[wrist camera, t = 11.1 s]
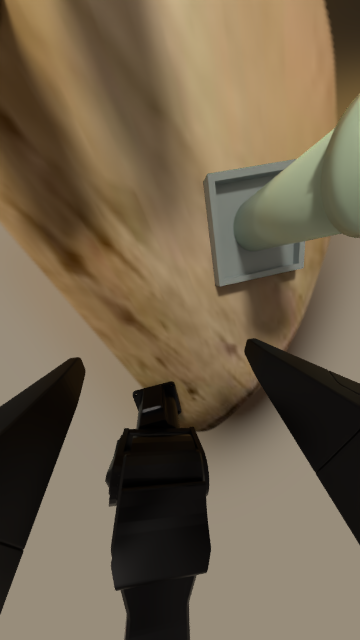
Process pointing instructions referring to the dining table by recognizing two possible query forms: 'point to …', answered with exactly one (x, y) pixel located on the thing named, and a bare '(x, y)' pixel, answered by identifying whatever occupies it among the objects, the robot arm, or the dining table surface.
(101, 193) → the dining table surface
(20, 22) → the dining table surface
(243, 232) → the sage green mushroom knob
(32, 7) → the dining table surface
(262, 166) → the tray
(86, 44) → the dining table surface
